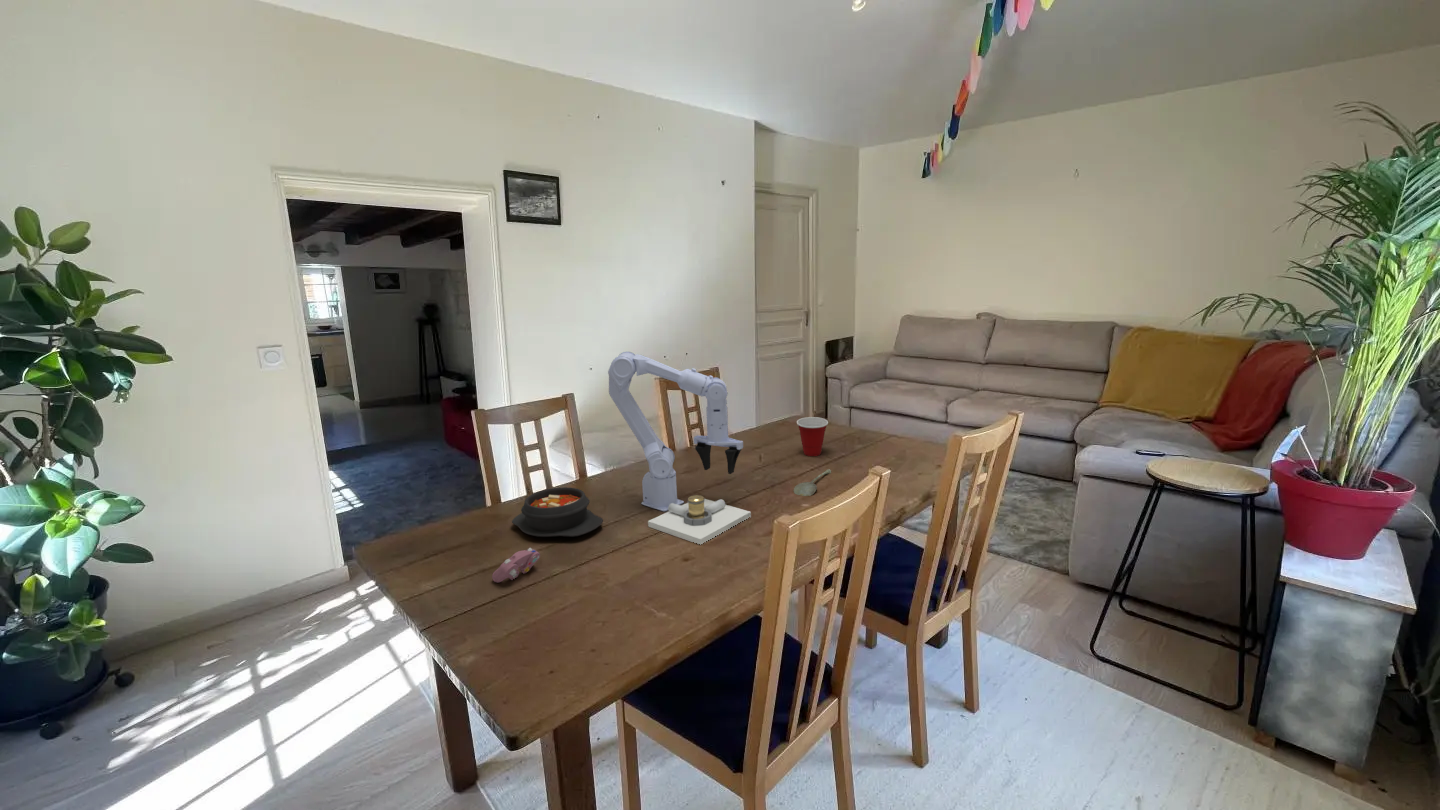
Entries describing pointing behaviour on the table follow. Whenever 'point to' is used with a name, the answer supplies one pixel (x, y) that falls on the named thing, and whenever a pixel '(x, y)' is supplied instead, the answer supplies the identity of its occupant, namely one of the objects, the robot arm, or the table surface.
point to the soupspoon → (808, 486)
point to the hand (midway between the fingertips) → (719, 470)
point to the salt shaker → (696, 507)
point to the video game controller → (516, 565)
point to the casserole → (557, 514)
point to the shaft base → (699, 531)
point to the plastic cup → (812, 434)
